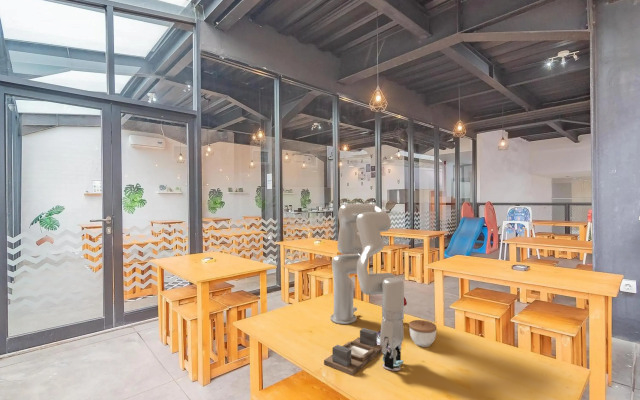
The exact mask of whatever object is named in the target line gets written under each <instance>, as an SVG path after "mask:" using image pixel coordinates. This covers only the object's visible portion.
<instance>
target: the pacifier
mask: <svg viewBox="0 0 640 400" xmlns="http://www.w3.org/2000/svg"><path fill="white" fill-rule="evenodd" d="M388 352H389V353H390V350H388ZM396 356H397V350H396V349H393V356H392V357H393V358H394V361H393V369H391V368H388V367H385V366H384V363H383V364H382V367H383V368H384V369H386V370H389V371H391V372H392V371H393V372H396V371H398V372H399V371H400V370H401V369H402V367H401V365H402V364H403V363H404V360H403V359H401V360H398V361H396ZM382 361H383V362H384V355H383V356H382Z"/></svg>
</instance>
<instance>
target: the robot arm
mask: <svg viewBox="0 0 640 400" xmlns="http://www.w3.org/2000/svg"><path fill="white" fill-rule="evenodd" d="M337 217H338V222H339V227H338V228H339V230H338V237H337V251H338V252H339V253H340V254H337V255H335V256H334V257H333V258H332V261H331V268H332V272H333V273H332V274H333V314H331V316H330V321H332V322H333V323H335V324H339V325H347V324H348V325H349V324H353V323H355V322H356V321H357V316H356V314H355V312H357V311H358V308H357V307H356V306H354V282H353V279H352V278H351V277H350V275H354V274H355V275H357V279H358V284H359V287H360V290H361V291H362V293H363V294H364V295H366V296H375V295H381V297H382V299H381V302H382V303H381V305H382V306H381V308H382V309H381V318H382V320H381V324H380V336H379V337H380V338H379V344H380V346H381V347H383V348H382V352H381V353H382V354H383V356H384V361H383V364H384V366H385V367H388V368H391V369H393V361H394V358H393V357H392V356H393V349H396V350H397V356H396V361H398V360H402V359H401V358H402V355H401V353H402V342H403V341H404V335H405V334H404V332H405V331H404V320H405V317H404V316H405V306H404V297H405V283H404V280H402V279H401V278H399V277H397V276H396V275H395V274H393V273H391V272H383V273H380V272H379V273H368V272H369V271H368V266H369V260H370V257H372V256H374V255H377V254H378V253H380V252H381V251H382V250H383V249H384V248H385V247H384V246H385V244H384V242H383V238H382V234H381V233H382V232H383V233H384V232H385V233H386V232H388V231H389V230H390V229H391V227H392V221H391V220H392V219H391V218H390V215H389V214H388V212H386V211H385V210H384V209H382V208H381V207H380V206H378V205H376V204H373V203H346V204H342V205H341V206H340V207H339V209H338V211H337ZM389 350H390V353H389Z"/></svg>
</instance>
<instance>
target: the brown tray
mask: <svg viewBox="0 0 640 400" xmlns="http://www.w3.org/2000/svg"><path fill="white" fill-rule="evenodd" d="M377 337H378V331H376V330H371V329H368V328H365V327H362V328H361V329H360V330H359V337H356V338H355V339H353V340H351V341H347V343H346V342H345V344H343V345H339V344H336V345H334V346H333V347H332V352H331V353H332V354H331V355H329V356H328V357H327V358H325V359H324V360H323V364H324V366H327V367H330V368H332V369H335V370H337V371H340V372H343V373H345V374H348V375H350V376H354V375H355V374H356V373H358V372H359V371H360V370H361V369H362V368H363V367H365V366H366V365H367V364H368V363H370V362H371V361H373V360H374V359H375V358H376V357H377V356H379V354H381V353H382V348H383V347H381V346H380V345H377V343H378V338H377Z"/></svg>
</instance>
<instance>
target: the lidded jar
mask: <svg viewBox="0 0 640 400" xmlns="http://www.w3.org/2000/svg"><path fill="white" fill-rule="evenodd" d="M408 327H409V335H410V339H411V340H412V341H413V342H414V344H415V345H416V346H417V347H422V348H428V347H430V346H431V345H432V344H433V343H434V342H435V340H436V338H437V327H438V326H437V325H436V324H435V323H434V322H432V321H429V320H423V319H416V320H411V321H409V324H408Z"/></svg>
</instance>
